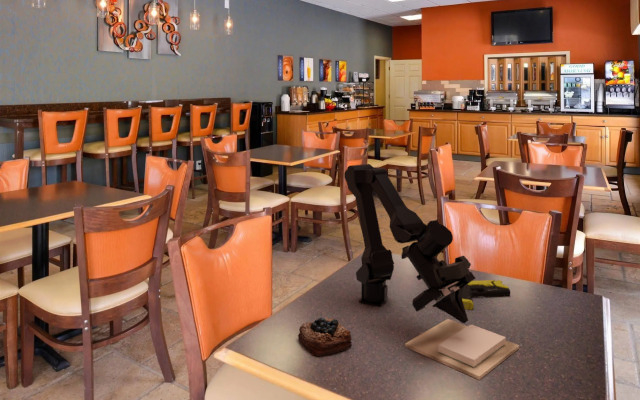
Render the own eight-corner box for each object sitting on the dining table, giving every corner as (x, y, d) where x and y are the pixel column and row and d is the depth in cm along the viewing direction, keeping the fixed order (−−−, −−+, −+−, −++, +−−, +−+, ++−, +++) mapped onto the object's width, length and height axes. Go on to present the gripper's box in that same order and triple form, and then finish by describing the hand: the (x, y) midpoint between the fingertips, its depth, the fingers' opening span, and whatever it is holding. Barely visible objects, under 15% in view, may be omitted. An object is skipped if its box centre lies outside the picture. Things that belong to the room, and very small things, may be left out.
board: (405, 346, 117) (405, 343, 117) (447, 321, 129) (447, 318, 129) (479, 379, 104) (479, 376, 104) (519, 348, 116) (519, 345, 116)
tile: (438, 344, 113) (474, 360, 106) (470, 324, 122) (505, 337, 116) (437, 352, 113) (473, 368, 107) (470, 331, 122) (505, 344, 116)
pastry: (315, 361, 112) (315, 337, 111) (292, 338, 122) (292, 316, 121) (357, 348, 117) (357, 325, 116) (332, 327, 127) (332, 306, 126)
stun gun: (523, 299, 136) (500, 278, 151) (454, 302, 135) (438, 280, 150) (522, 309, 137) (500, 287, 152) (454, 312, 136) (437, 289, 150)
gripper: (424, 256, 108) (468, 320, 103) (470, 238, 121) (510, 294, 115) (395, 281, 116) (434, 341, 110) (440, 261, 128) (477, 315, 123)
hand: (466, 322), depth 114 cm, fingers closed
